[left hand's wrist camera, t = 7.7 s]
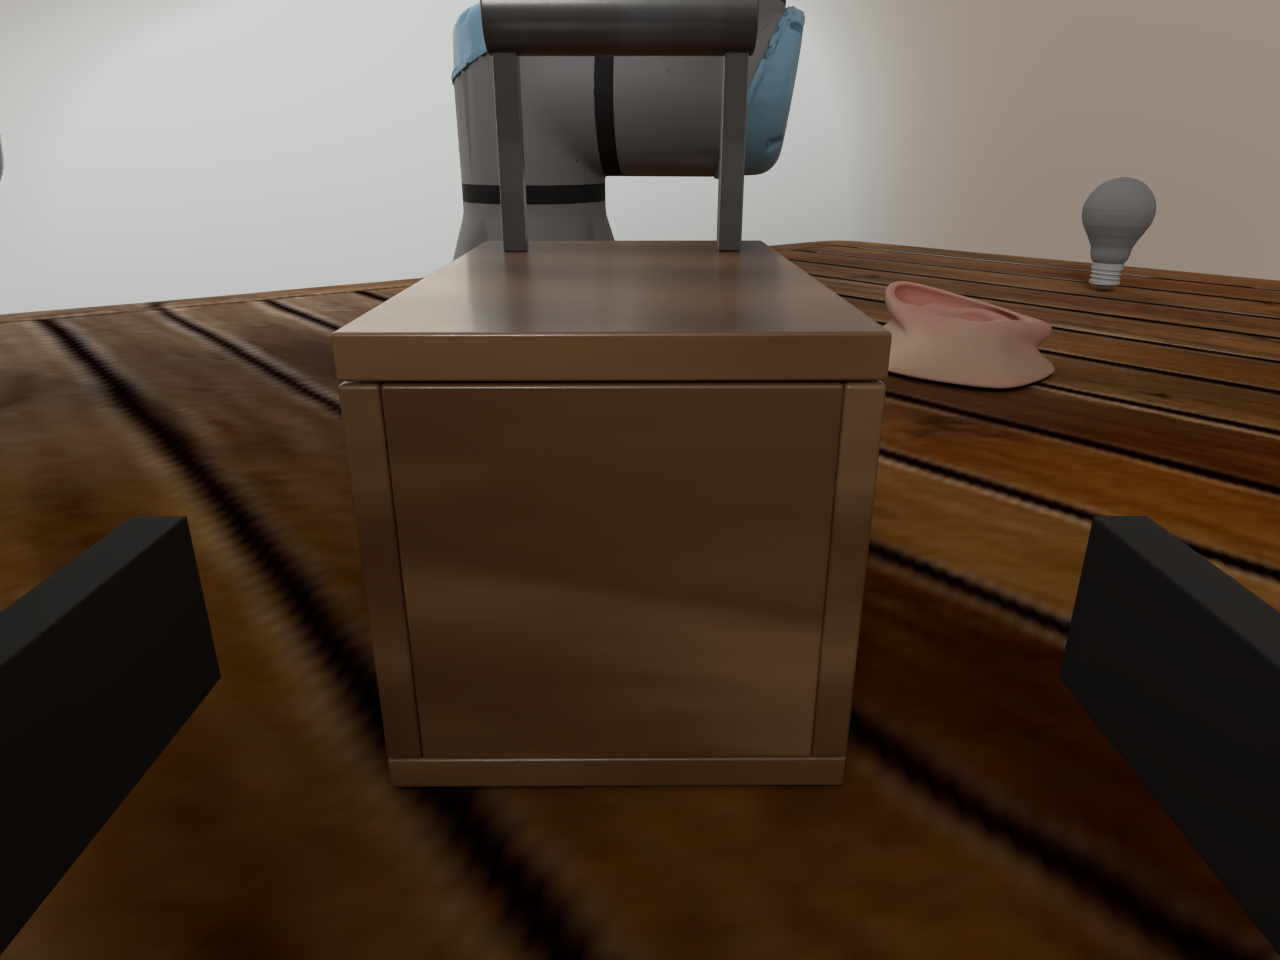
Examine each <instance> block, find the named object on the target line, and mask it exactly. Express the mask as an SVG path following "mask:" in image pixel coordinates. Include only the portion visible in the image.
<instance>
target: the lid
mask: <svg viewBox="0 0 1280 960" xmlns="http://www.w3.org/2000/svg"><path fill="white" fill-rule="evenodd" d="M759 8H760V0H480V11H481V23H482V31H483V38H484V43H485V47H486V50H487V53H488V55H490V56H492V59H493V77H494V94H495V112H496V129H497V147H498V164H499V181H500V199H501V216H502V234H503V241H486V242H484V243H482V244H481V245H479V246H477V247H476V248H474V249H472V250H471V251H469V252H467V253H466V254H464V255H462V256H461V257H459V258H457V259H456V260H454V261H452V262H451V263H449V264H447V265H446V266H444V267H442V268H441V269H439V270H437V271H435V272H434V273H432V274H431V275H429V276H427V277H425V278H424V279H422V280H420V281H419V282H417V283H415V284H414V285H412V286H410V287H409V288H407V289H405V290H404V291H402V292H400V293H399V294H397V295H395V296H394V297H392V298H390V299H389V300H387V301H385V302H384V303H382V304H380V305H379V306H377V307H375V308H374V309H372V310H370V311H369V312H367V313H365V314H363V315H362V316H360V317H358V318H357V319H355V320H353V321H352V322H350V323H348V324H347V325H345V326H343V327H342V328H340V329H338V330H337V331H335V332H333V333H332V335H331V340H332V347H333V355H334V362H335V370H336V377H337V380H339V381H812V380H885V379H887V376H888V368H889V358H890V349H891V340H892V334H891V332H890V331H888V330H887V329H885V328H884V327H883V326H881V325H880V324H878V323H877V322H875V321H874V320H873V319H871V318H870V317H868V316H867V315H866V314H864V313H863V312H861V311H860V310H858V309H857V308H856V307H854V306H853V305H851V304H850V303H848V302H847V301H846V300H844V299H843V298H841V297H840V296H839V295H837V294H836V293H834V292H833V291H831V290H830V289H829V288H827V287H826V286H824V285H823V284H822V283H820V282H819V281H817V280H816V279H814V278H813V277H812V276H810V275H809V274H807V273H806V272H805V271H803V270H802V269H800V268H799V267H797V266H796V265H795V264H793V263H792V262H790V261H789V260H787V259H786V258H785V257H783V256H782V255H780V254H779V253H778V252H776V251H775V250H773V249H772V248H770V247H769V246H768V245H766V244H765V243H763V242H762V241H741V234H742V210H743V186H744V162H745V138H746V114H747V90H748V66H749V56H752V55H753V53H754V51H755V47H756V41H757V34H758V24H759ZM519 56H723V60H722V92H721V124H720V156H719V189H718V220H717V241H528V228H527V206H526V185H525V164H524V142H523V121H522V100H521V78H520V57H519Z"/></svg>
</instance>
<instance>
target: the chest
mask: <svg viewBox="0 0 1280 960" xmlns="http://www.w3.org/2000/svg"><path fill="white" fill-rule="evenodd" d="M338 390H339V398H340V405H341V413H342V420H343V428H344V435H345V443H346V450H347V458H348V465H349V473H350V480H351V487H352V495H353V502H354V510H355V517H356V525H357V532H358V540H359V547H360V555H361V562H362V570H363V577H364V585H365V592H366V600H367V607H368V614H369V622H370V629H371V637H372V644H373V652H374V659H375V667H376V674H377V682H378V689H379V697H380V704H381V712H382V719H383V727H384V734H385V741H386V749H387V756H388V757H389V759H388V765H389V773H390V780H391V785H392V786H393V787H491V786H736V785H842V784H843V782H844V774H845V765H846V757H845V755H846V752H847V744H848V734H849V725H850V716H851V707H852V697H853V688H854V679H855V670H856V660H857V651H858V642H859V633H860V623H861V614H862V605H863V596H864V586H865V577H866V568H867V559H868V549H869V540H870V531H871V522H872V512H873V503H874V494H875V485H876V475H877V466H878V457H879V448H880V438H881V429H882V420H883V411H884V401H885V392H886V387H885V384H884V383H883V382H882V381H881V380H812V381H344V382H343V383H342V384H340V385H339V388H338Z"/></svg>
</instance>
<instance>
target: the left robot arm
mask: <svg viewBox="0 0 1280 960" xmlns="http://www.w3.org/2000/svg"><path fill="white" fill-rule="evenodd" d="M2 173H3V152H2V144H1V138H0V180H1V177H2ZM220 678H221V676H220V671H219V666H218V662H217V657H216V652H215V648H214V643H213V638H212V634H211V629H210V624H209V620H208V615H207V610H206V606H205V601H204V596H203V592H202V587H201V582H200V578H199V573H198V568H197V564H196V559H195V554H194V550H193V545H192V540H191V536H190V531H189V526H188V522H187V517H186V516H133V517H132V518H130V519H129V520H127V521H126V522H125V523H123V524H122V525H121V526H119V527H118V528H116V529H115V530H114V531H112V532H111V533H109V534H108V535H107V536H105V537H104V538H103V539H101V540H100V541H98V542H97V543H96V544H94V545H93V546H92V547H90V548H89V549H87V550H86V551H85V552H83V553H82V554H80V555H79V556H78V557H76V558H75V559H74V560H72V561H71V562H69V563H68V564H67V565H65V566H64V567H63V568H61V569H60V570H58V571H57V572H56V573H54V574H53V575H52V576H50V577H49V578H47V579H46V580H45V581H43V582H42V583H40V584H39V585H38V586H36V587H35V588H34V589H32V590H31V591H29V592H28V593H27V594H25V595H24V596H23V597H21V598H20V599H18V600H17V601H16V602H14V603H13V604H11V605H10V606H9V607H7V608H6V609H5V610H3V611H2V612H0V955H1V954H2V952H3V951H4V950H5V949H6V947H7V946H8V945H9V944H10V942H11V941H12V940H13V939H14V937H15V936H16V935H17V934H18V932H19V931H20V930H21V929H22V927H23V926H24V925H25V924H26V922H27V921H28V920H29V918H30V917H31V916H32V915H33V913H34V912H35V911H36V910H37V908H38V907H39V906H40V905H41V903H42V902H43V901H44V900H45V898H46V897H47V896H48V895H49V893H50V892H51V891H52V889H53V888H54V887H55V886H56V884H57V883H58V882H59V881H60V879H61V878H62V877H63V876H64V874H65V873H66V872H67V871H68V869H69V868H70V867H71V866H72V864H73V863H74V862H75V861H76V859H77V858H78V857H79V855H80V854H81V853H82V852H83V850H84V849H85V848H86V847H87V845H88V844H89V843H90V842H91V840H92V839H93V838H94V837H95V835H96V834H97V833H98V832H99V830H100V829H101V828H102V827H103V825H104V824H105V823H106V821H107V820H108V819H109V818H110V816H111V815H112V814H113V813H114V811H115V810H116V809H117V808H118V806H119V805H120V804H121V803H122V801H123V800H124V799H125V798H126V796H127V795H128V794H129V792H130V791H131V790H132V789H133V787H134V786H135V785H136V784H137V782H138V781H139V780H140V779H141V777H142V776H143V775H144V774H145V772H146V771H147V770H148V769H149V767H150V766H151V765H152V764H153V762H154V761H155V760H156V758H157V757H158V756H159V755H160V753H161V752H162V751H163V750H164V748H165V747H166V746H167V745H168V743H169V742H170V741H171V740H172V738H173V737H174V736H175V735H176V733H177V732H178V731H179V729H180V728H181V727H182V726H183V724H184V723H185V722H186V721H187V719H188V718H189V717H190V716H191V714H192V713H193V712H194V711H195V709H196V708H197V707H198V706H199V704H200V703H201V702H202V701H203V699H204V698H205V697H206V695H207V694H208V693H209V692H210V690H211V689H212V688H213V687H214V685H215V684H216V683H217V682H218V680H219V679H220ZM1059 678H1060V679H1061V680H1062V682H1063V683H1064V684H1065V685H1066V687H1067V688H1068V689H1069V690H1070V692H1071V693H1072V694H1073V695H1074V697H1075V698H1076V699H1077V701H1078V702H1079V703H1080V704H1081V706H1082V707H1083V708H1084V709H1085V711H1086V712H1087V713H1088V714H1089V716H1090V717H1091V718H1092V719H1093V721H1094V722H1095V723H1096V724H1097V726H1098V727H1099V728H1100V729H1101V731H1102V732H1103V733H1104V735H1105V736H1106V737H1107V738H1108V740H1109V741H1110V742H1111V743H1112V745H1113V746H1114V747H1115V748H1116V750H1117V751H1118V752H1119V753H1120V755H1121V756H1122V757H1123V758H1124V760H1125V761H1126V762H1127V764H1128V765H1129V766H1130V767H1131V769H1132V770H1133V771H1134V772H1135V774H1136V775H1137V776H1138V777H1139V779H1140V780H1141V781H1142V782H1143V784H1144V785H1145V786H1146V787H1147V789H1148V790H1149V791H1150V792H1151V794H1152V795H1153V796H1154V798H1155V799H1156V800H1157V801H1158V803H1159V804H1160V805H1161V806H1162V808H1163V809H1164V810H1165V811H1166V813H1167V814H1168V815H1169V816H1170V818H1171V819H1172V820H1173V821H1174V823H1175V824H1176V825H1177V827H1178V828H1179V829H1180V830H1181V832H1182V833H1183V834H1184V835H1185V837H1186V838H1187V839H1188V840H1189V842H1190V843H1191V844H1192V845H1193V847H1194V848H1195V849H1196V850H1197V852H1198V853H1199V854H1200V855H1201V857H1202V858H1203V859H1204V861H1205V862H1206V863H1207V864H1208V866H1209V867H1210V868H1211V869H1212V871H1213V872H1214V873H1215V874H1216V876H1217V877H1218V878H1219V879H1220V881H1221V882H1222V883H1223V884H1224V886H1225V887H1226V888H1227V889H1228V891H1229V892H1230V893H1231V895H1232V896H1233V897H1234V898H1235V900H1236V901H1237V902H1238V903H1239V905H1240V906H1241V907H1242V908H1243V910H1244V911H1245V912H1246V913H1247V915H1248V916H1249V917H1250V918H1251V920H1252V921H1253V922H1254V924H1255V925H1256V926H1257V927H1258V929H1259V930H1260V931H1261V932H1262V934H1263V935H1264V936H1265V937H1266V939H1267V940H1268V941H1269V942H1270V944H1271V945H1272V946H1273V947H1274V949H1275V950H1276V951H1277V952H1278V954H1279V955H1280V612H1278V611H1277V610H1275V609H1274V608H1273V607H1271V606H1270V605H1269V604H1267V603H1266V602H1264V601H1263V600H1262V599H1260V598H1259V597H1257V596H1256V595H1255V594H1253V593H1252V592H1251V591H1249V590H1248V589H1246V588H1245V587H1244V586H1242V585H1241V584H1240V583H1238V582H1237V581H1235V580H1234V579H1233V578H1231V577H1230V576H1228V575H1227V574H1226V573H1224V572H1223V571H1222V570H1220V569H1219V568H1217V567H1216V566H1215V565H1213V564H1212V563H1211V562H1209V561H1208V560H1206V559H1205V558H1204V557H1202V556H1201V555H1200V554H1198V553H1197V552H1195V551H1194V550H1193V549H1191V548H1190V547H1188V546H1187V545H1186V544H1184V543H1183V542H1182V541H1180V540H1179V539H1177V538H1176V537H1175V536H1173V535H1172V534H1171V533H1169V532H1168V531H1166V530H1165V529H1164V528H1162V527H1161V526H1159V525H1158V524H1157V523H1155V522H1154V521H1153V520H1151V519H1150V518H1148V517H1147V516H1094V517H1093V522H1092V526H1091V531H1090V536H1089V540H1088V545H1087V550H1086V554H1085V559H1084V564H1083V568H1082V573H1081V578H1080V582H1079V587H1078V592H1077V596H1076V601H1075V606H1074V610H1073V615H1072V620H1071V624H1070V629H1069V634H1068V638H1067V643H1066V648H1065V652H1064V657H1063V662H1062V666H1061V671H1060V676H1059Z"/></svg>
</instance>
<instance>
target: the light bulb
mask: <svg viewBox="0 0 1280 960" xmlns="http://www.w3.org/2000/svg"><path fill="white" fill-rule="evenodd" d="M1155 212H1156V201H1155V198H1154V195H1153V193H1152V191H1151V190H1150V189H1149V187H1148V186H1147V185H1146V184H1144V183H1143V182H1141V181H1139V180H1136V179H1133V178H1128V177H1121V178H1116V179H1112V180H1109V181H1107V182H1104V183H1103V184H1101V185H1100V186H1099V187H1097V188H1096V189H1095V190H1094V191H1093V192H1092V193H1091V194H1090V195H1089V197H1088V198H1087V200H1086V202H1085V204H1084V206H1083V210H1082V222H1083V225H1084V228H1085V231H1086V233H1087V236H1088V238H1089V241H1090V244H1091V259H1092V261H1093V262H1092V268H1093V270H1091V272H1093V274H1091V275H1090V276H1092V278H1090V279H1089V283H1091V284H1092V285H1094V286H1095V287H1096V288H1101V289H1110V288H1112V287H1115V286H1117V285H1119V284H1120V282H1118V281H1119V280H1120V279H1121V278H1119V276H1120V275H1122V274H1120V271H1123V266H1124V263H1125V262H1126V261H1127V260H1128V258H1129V256H1130V253H1131V250H1132V248H1133V246H1134V245H1135V244H1136V242H1137V241H1138V240H1139V238H1140V237H1141V236H1142V235H1143V234H1144V233H1145V231H1146V230H1147V229H1148V228H1149V226H1150V225H1151V223H1152V221H1153V219H1154V216H1155Z"/></svg>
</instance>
